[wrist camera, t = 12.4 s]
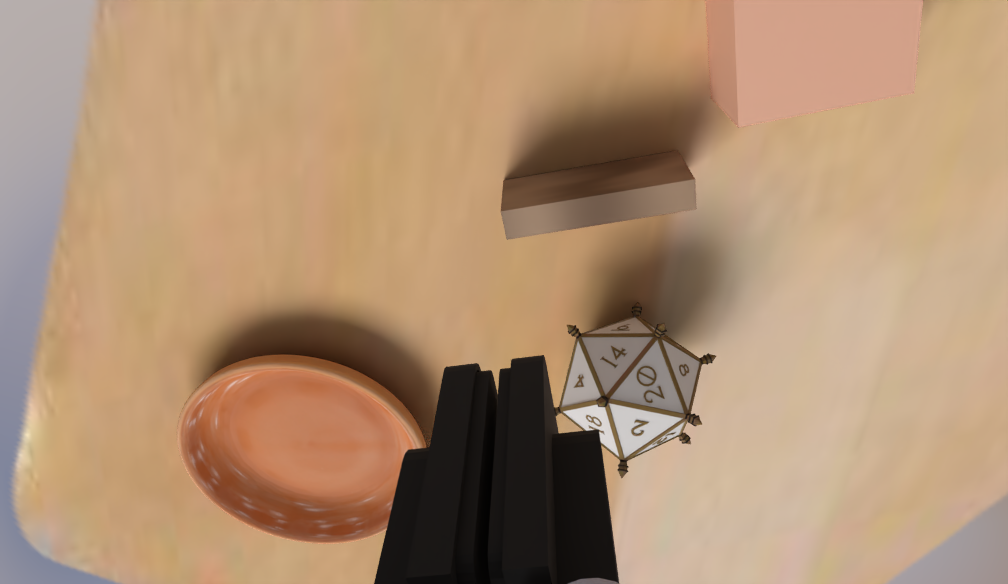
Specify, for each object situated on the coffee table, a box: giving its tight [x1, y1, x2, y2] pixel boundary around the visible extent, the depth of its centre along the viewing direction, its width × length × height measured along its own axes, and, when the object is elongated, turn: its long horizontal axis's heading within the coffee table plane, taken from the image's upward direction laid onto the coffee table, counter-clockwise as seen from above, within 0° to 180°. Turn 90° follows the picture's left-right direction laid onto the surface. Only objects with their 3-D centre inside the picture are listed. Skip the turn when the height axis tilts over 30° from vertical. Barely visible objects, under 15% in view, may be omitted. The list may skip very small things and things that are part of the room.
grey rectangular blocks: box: [501, 150, 696, 240], centre depth 29 cm, size 9×16×4 cm, turn 11°
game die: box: [554, 302, 716, 478], centre depth 36 cm, size 9×8×10 cm
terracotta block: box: [705, 0, 923, 128], centre depth 28 cm, size 7×7×5 cm
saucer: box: [177, 355, 427, 544], centre depth 43 cm, size 16×16×3 cm
